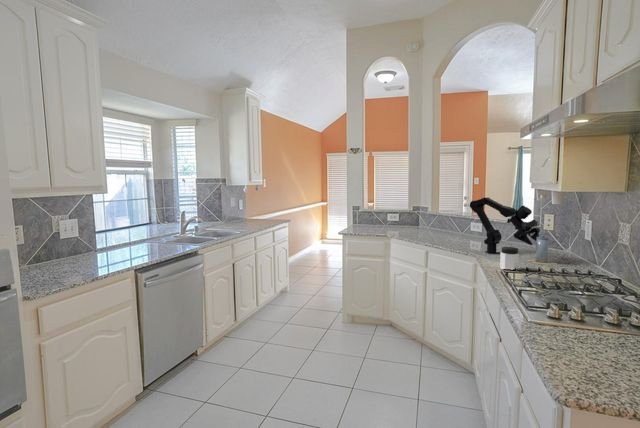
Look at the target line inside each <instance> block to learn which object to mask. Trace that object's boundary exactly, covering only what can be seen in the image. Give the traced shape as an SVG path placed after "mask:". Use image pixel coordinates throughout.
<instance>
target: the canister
mask: <svg viewBox="0 0 640 428" xmlns="http://www.w3.org/2000/svg"><path fill="white" fill-rule="evenodd" d="M536 238H537V241H535V242H536V246H535V247H536V248H535V260H536V262H539V263H548V261H549V260H548V259H549V239H550V237H549V236H545V234H544V235H543V234H542V235H539V236H538V237H536Z"/></svg>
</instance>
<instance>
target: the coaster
mask: <svg viewBox="0 0 640 428" xmlns="http://www.w3.org/2000/svg"><path fill="white" fill-rule="evenodd" d="M526 261H528V262H530V263H533V264H535V265H539V266H540V265H541V266H542V265H545V266H546V265H558V263H557V262H554V261H551V260H548V263H539V262H536V259H526Z"/></svg>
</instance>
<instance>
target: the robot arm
mask: <svg viewBox="0 0 640 428" xmlns="http://www.w3.org/2000/svg"><path fill="white" fill-rule="evenodd" d="M486 205H487V206H489V207H490V208H492V209H494V210H496V211H498V212H499V214H500V215H501V216H503V217H504V218H507V221H506V223H507V224H510V223H511V224H512V225H513V226H514V229H515V233H513V238H514V239H515V240H519V241H521V242H524V243H525V244H528V245H529V246H532V245H533V243H532V241H531V240H530V239H532V240H534V241H535V242H537V238H536V237H538V236H540V232H541V229H540V228H539V227H538V224H539V222H538V221H537V220H536V219H533V220H530V221H528V222H527V221H524V220H526V219H527V218H528V217H529V216H530V215H532V210H531V208H529V207H527V206H525V205H520V207H519V208H518V209H515V208H514V207H512V206H507V205H503V204H501V203H499V202H498V201H495V200H493V199H492V198H490V197H489V196H488V197H483V198H480V199H477V200H471V201H470V203H469V208H470V209H471V210H472V211H473V212H474V213H475V214H476V215H477V216H478V218H479V220H480V222H481V224H482V226H483V227H484V229H485V231H486V234H485V235H486V238H485V239H484V240H483V243H484V245H486V250H485V251H484V252H485V253H487V254H489V255H491V254H499V252H498V251H497V244H500V242H501V240H502V233H501V232H500V230H499V229H495V228H494V226H493V224H492V223H491V220H490V219H489V217H488V216H487V214H486V212H485V206H486ZM536 226H537V227H536ZM516 230H517V231H516Z"/></svg>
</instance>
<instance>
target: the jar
mask: <svg viewBox="0 0 640 428" xmlns="http://www.w3.org/2000/svg"><path fill="white" fill-rule="evenodd" d="M499 255H500V258H499V259H500V262H499V269H501V270H503V269H511V270H513V269H515V268H516V269H518V270H519V263H520V261H519V257H520V253H519V249H518V247H515V246H502V247H501V251H500V254H499Z"/></svg>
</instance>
